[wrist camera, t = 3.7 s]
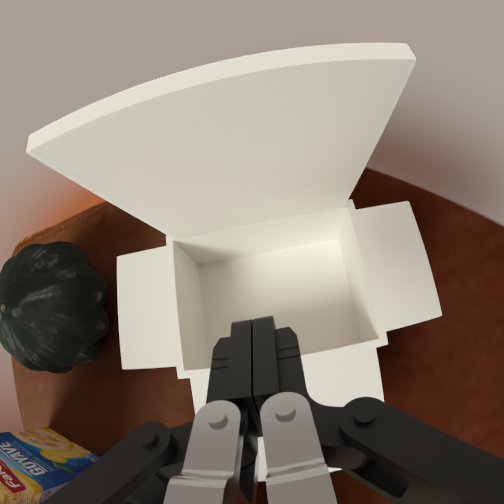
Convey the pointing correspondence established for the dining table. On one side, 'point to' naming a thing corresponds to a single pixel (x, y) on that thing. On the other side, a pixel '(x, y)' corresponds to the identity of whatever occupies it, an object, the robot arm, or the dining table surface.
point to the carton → (281, 296)
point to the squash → (52, 307)
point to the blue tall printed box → (38, 464)
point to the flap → (234, 137)
